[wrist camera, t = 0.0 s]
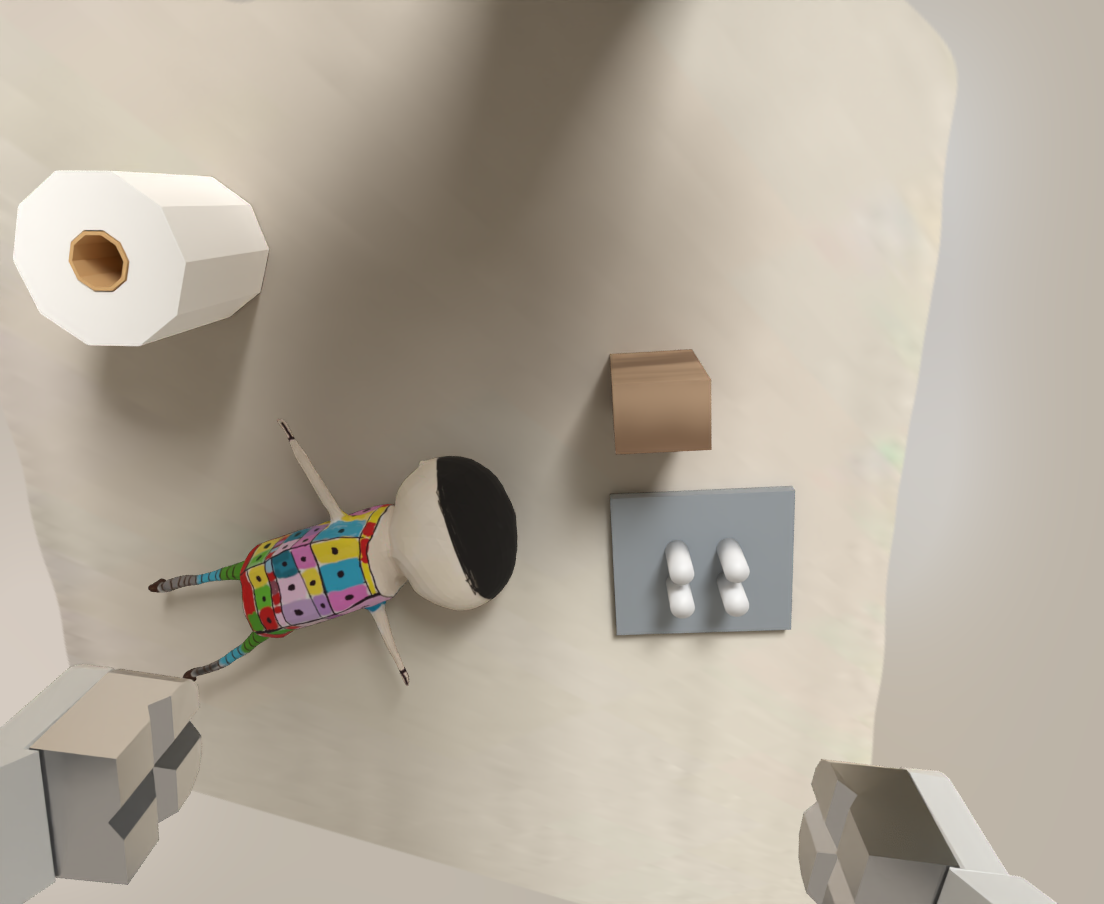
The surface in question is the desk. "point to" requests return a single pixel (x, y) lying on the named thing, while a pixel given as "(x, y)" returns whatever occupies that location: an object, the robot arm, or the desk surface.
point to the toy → (376, 555)
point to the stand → (703, 560)
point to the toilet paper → (137, 254)
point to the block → (660, 402)
